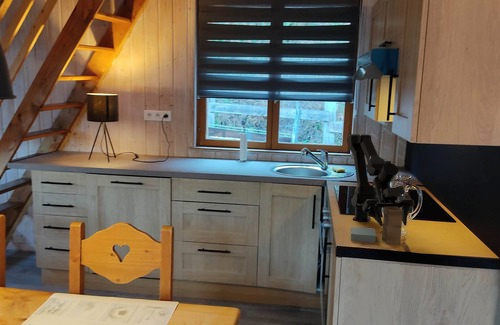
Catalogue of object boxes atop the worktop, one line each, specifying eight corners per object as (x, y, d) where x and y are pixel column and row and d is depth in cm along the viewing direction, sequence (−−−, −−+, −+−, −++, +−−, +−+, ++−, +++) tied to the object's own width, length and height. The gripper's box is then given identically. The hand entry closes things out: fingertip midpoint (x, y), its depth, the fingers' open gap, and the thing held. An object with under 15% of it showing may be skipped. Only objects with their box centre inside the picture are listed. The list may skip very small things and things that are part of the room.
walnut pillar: (381, 239, 171) (384, 206, 169) (394, 239, 172) (396, 206, 169) (387, 244, 166) (389, 210, 164) (400, 244, 167) (402, 210, 164)
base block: (350, 233, 178) (351, 226, 178) (374, 235, 177) (374, 228, 176) (350, 241, 170) (351, 233, 169) (375, 243, 168) (375, 235, 167)
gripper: (367, 178, 167) (377, 215, 158) (414, 178, 170) (426, 214, 161) (358, 193, 176) (367, 229, 168) (403, 193, 179) (414, 228, 170)
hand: (393, 225), depth 166 cm, fingers open, 9 cm apart
